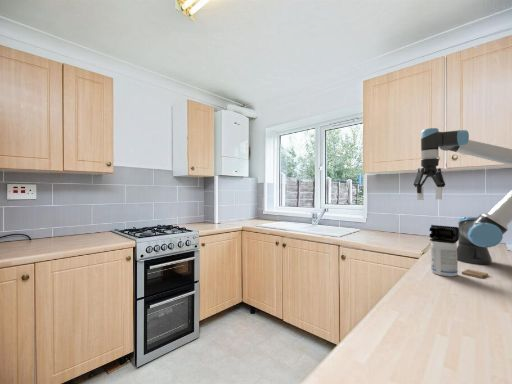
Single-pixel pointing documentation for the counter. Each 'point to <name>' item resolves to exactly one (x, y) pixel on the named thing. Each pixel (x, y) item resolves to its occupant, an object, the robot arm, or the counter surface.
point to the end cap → (444, 234)
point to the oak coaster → (475, 273)
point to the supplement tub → (444, 258)
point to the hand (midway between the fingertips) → (429, 199)
